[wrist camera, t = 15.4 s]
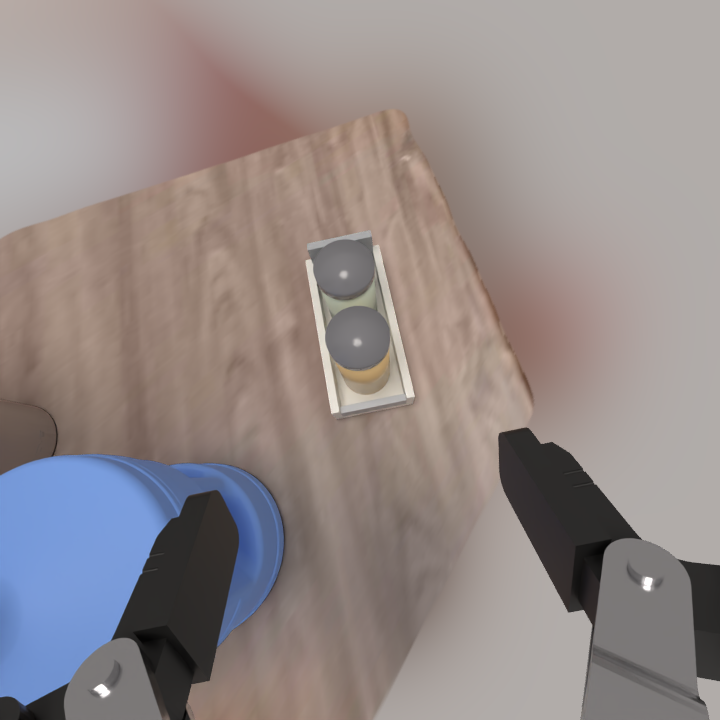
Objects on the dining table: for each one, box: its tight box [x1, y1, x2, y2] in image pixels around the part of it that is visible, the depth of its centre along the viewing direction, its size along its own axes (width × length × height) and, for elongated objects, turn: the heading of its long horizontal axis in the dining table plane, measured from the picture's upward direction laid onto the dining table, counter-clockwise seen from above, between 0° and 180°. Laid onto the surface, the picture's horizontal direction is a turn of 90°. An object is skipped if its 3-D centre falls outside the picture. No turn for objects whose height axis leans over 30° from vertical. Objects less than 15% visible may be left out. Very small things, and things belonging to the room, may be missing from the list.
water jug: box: [0, 454, 284, 706], centre depth 27 cm, size 16×16×28 cm
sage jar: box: [313, 239, 378, 318], centre depth 40 cm, size 5×5×11 cm
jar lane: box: [305, 230, 415, 419], centre depth 42 cm, size 18×8×7 cm, turn 11°
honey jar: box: [325, 306, 390, 395], centre depth 38 cm, size 5×5×11 cm
